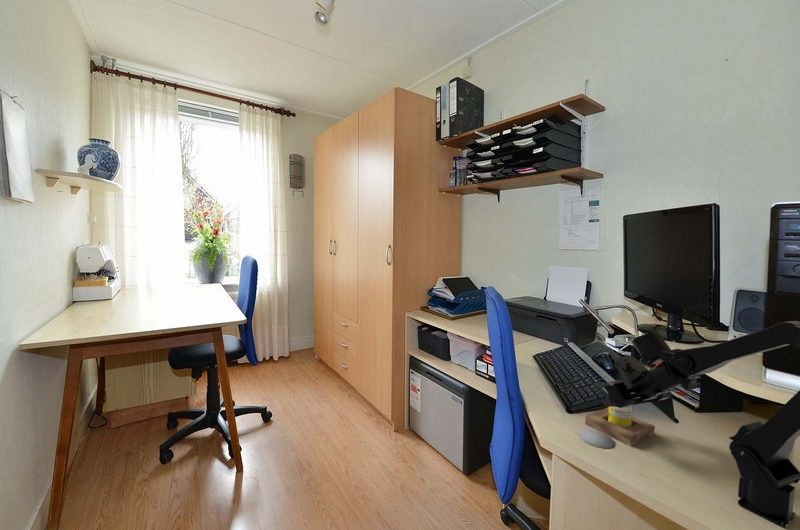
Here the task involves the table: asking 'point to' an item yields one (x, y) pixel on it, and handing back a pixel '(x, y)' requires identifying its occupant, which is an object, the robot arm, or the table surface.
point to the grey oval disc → (596, 438)
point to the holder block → (627, 436)
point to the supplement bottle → (620, 416)
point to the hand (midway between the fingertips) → (615, 402)
